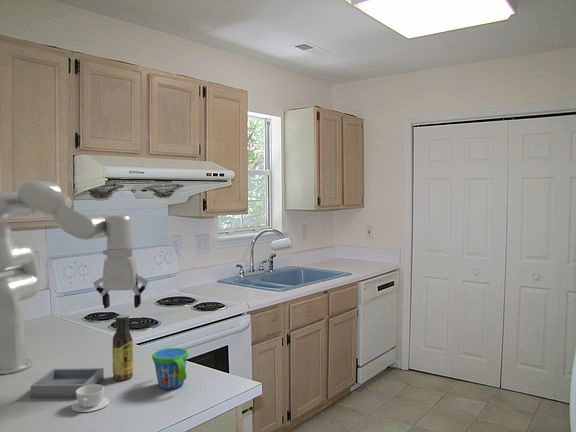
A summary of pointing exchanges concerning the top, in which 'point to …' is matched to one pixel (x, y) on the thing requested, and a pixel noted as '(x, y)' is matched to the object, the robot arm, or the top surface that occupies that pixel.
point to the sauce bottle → (122, 350)
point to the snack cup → (170, 367)
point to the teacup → (90, 398)
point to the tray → (65, 382)
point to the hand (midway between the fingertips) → (122, 307)
